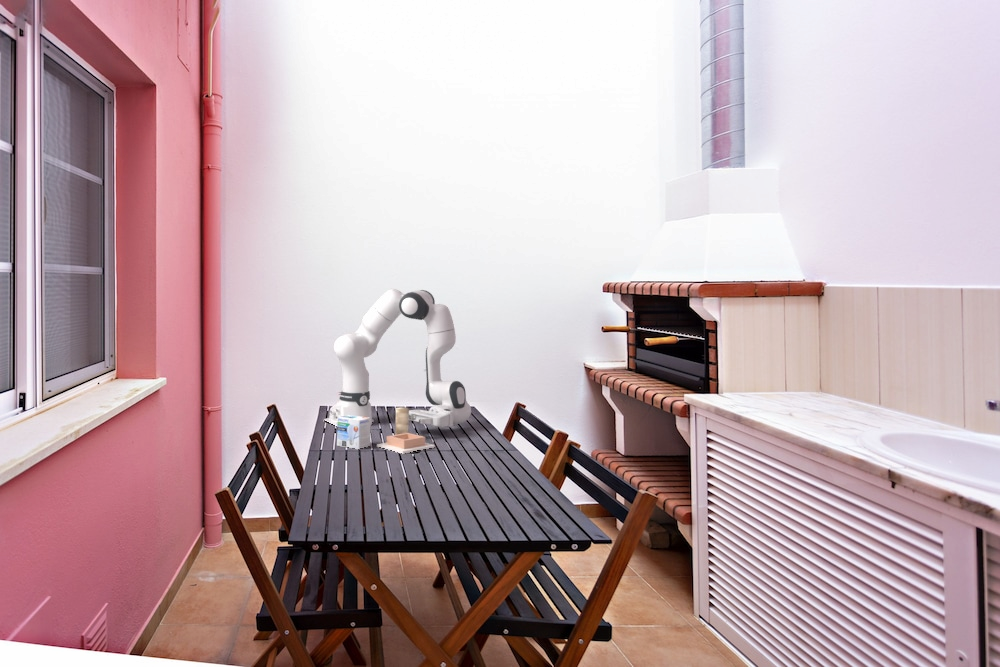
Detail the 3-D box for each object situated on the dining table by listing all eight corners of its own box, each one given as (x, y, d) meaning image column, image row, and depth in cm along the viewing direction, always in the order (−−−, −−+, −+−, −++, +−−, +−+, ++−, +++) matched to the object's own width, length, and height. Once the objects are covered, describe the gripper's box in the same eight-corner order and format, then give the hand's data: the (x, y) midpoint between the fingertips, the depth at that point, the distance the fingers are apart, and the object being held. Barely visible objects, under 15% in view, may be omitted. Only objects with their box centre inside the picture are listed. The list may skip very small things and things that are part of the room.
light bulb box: (336, 446, 260) (336, 417, 260) (348, 442, 266) (348, 414, 266) (359, 449, 255) (359, 420, 255) (371, 446, 261) (371, 417, 261)
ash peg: (392, 439, 275) (393, 408, 274) (402, 437, 278) (403, 407, 278) (400, 441, 271) (401, 410, 271) (411, 439, 275) (411, 408, 274)
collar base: (376, 446, 260) (376, 436, 260) (408, 441, 271) (408, 430, 271) (402, 454, 250) (403, 442, 250) (434, 447, 261) (434, 437, 261)
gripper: (421, 404, 295) (395, 408, 285) (455, 411, 281) (429, 415, 271) (421, 420, 296) (395, 423, 285) (455, 427, 282) (429, 431, 272)
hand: (412, 419), depth 278 cm, fingers open, 8 cm apart
